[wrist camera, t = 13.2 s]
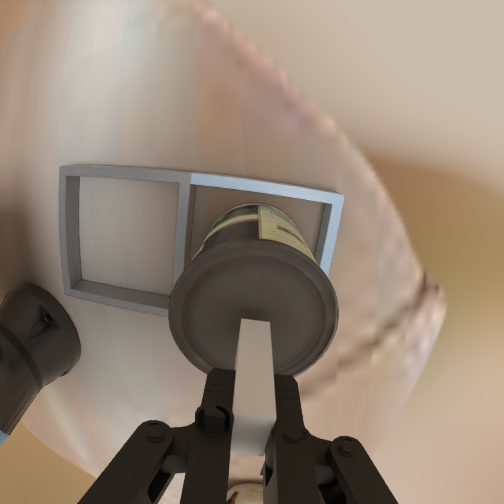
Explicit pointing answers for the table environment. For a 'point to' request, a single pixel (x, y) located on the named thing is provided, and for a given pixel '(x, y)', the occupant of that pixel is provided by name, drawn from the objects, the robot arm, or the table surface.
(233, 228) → the coffee can
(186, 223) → the bay tray
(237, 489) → the sugar bowl
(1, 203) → the table surface
